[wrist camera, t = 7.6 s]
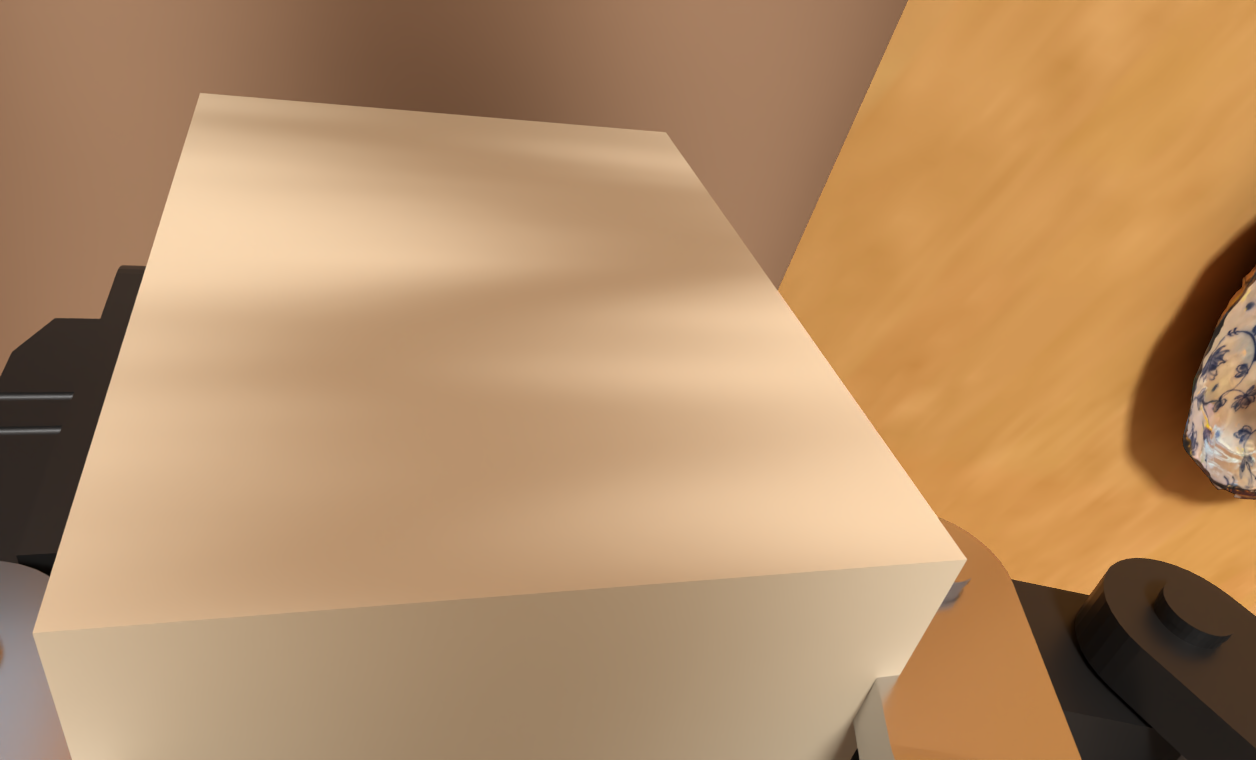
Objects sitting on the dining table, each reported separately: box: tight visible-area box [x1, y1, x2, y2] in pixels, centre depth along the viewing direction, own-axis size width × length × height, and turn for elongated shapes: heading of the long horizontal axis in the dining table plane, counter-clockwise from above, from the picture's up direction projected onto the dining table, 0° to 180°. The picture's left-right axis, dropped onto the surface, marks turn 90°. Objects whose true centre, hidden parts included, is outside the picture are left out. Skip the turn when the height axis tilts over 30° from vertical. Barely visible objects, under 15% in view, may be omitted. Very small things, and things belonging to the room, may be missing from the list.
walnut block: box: [0, 0, 908, 376], centre depth 13 cm, size 10×10×4 cm
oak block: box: [33, 93, 967, 760], centre depth 8 cm, size 4×4×6 cm
